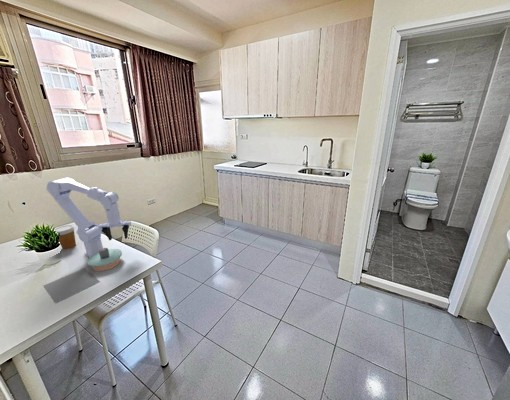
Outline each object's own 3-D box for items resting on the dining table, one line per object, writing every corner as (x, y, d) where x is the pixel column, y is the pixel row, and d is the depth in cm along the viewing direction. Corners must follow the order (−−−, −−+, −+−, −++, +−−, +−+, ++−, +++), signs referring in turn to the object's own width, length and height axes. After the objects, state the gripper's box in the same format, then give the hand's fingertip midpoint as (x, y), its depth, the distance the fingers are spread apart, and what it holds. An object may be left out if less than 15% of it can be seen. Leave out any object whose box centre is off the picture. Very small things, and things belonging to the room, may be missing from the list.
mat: (43, 286, 100) (43, 285, 100) (85, 268, 112) (85, 267, 112) (56, 304, 90) (55, 303, 90) (100, 282, 102) (100, 281, 102)
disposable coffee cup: (55, 248, 130) (49, 230, 127) (73, 241, 139) (67, 223, 135) (64, 252, 127) (58, 233, 123) (82, 244, 135) (77, 226, 131)
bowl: (89, 265, 114) (87, 259, 113) (114, 255, 123) (112, 248, 122) (98, 274, 108) (96, 267, 106) (124, 262, 117) (123, 256, 115)
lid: (82, 259, 113) (80, 251, 111) (114, 246, 124) (112, 239, 123) (94, 270, 104) (91, 262, 103) (127, 255, 116) (125, 248, 114)
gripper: (94, 220, 111) (100, 244, 116) (126, 217, 114) (131, 240, 119) (99, 214, 118) (105, 237, 122) (130, 212, 121) (134, 234, 125)
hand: (118, 238), depth 121 cm, fingers open, 7 cm apart
